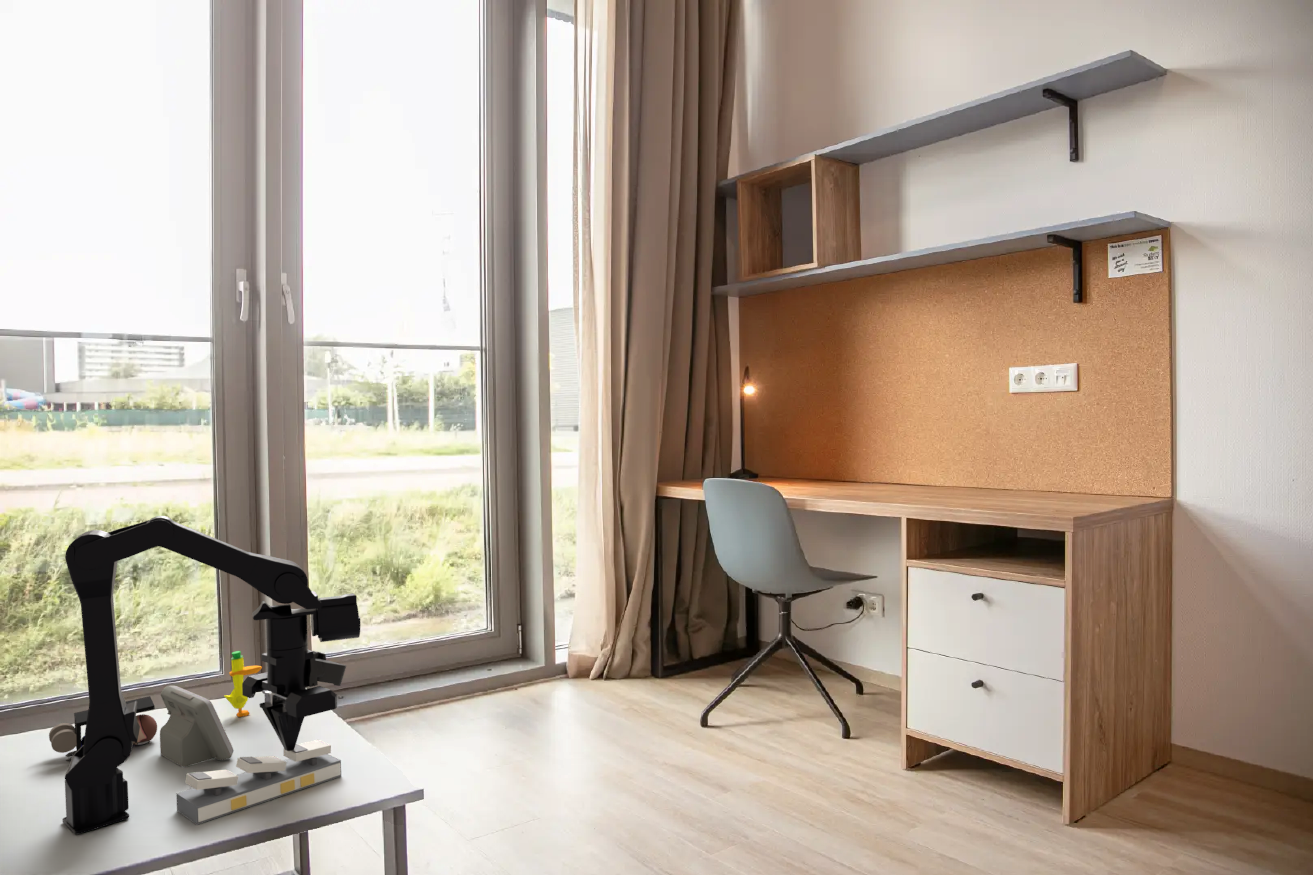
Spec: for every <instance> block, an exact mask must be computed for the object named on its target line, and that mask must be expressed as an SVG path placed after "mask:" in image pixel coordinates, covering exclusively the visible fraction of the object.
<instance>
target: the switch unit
mask: <svg viewBox="0 0 1313 875" xmlns="http://www.w3.org/2000/svg"><path fill="white" fill-rule="evenodd" d="M282 760H283V761H285V762H287V763H286V768H285V771H274V772H258V773H247V772H245V771H243V772H241V773H238V774H236V775H237V776H238V781H237V785H233V786H225V787H217V788H209V789H200V790H196V789H194V788H193V787H191V788H189V789H185V790H183V791H182V790H181V791H178V792H176V794H175V795H176V796H175V797H176V812H178V813H179V814H181V815H182V816H184V817H185V818H187V819H188V820H190V822H192V823H194V824H195V825H200V824H203V823H206V822H209V821H212V820H215V819H218V818H222V817H224V816H227V815H230V814H233V813H236V812H239V811H242V810H246V809H248V808H252V807H254V806H257V805H260V804H263V803H266V802H269V801H272V800H274V799H277V798H280V797H283V796H284V797H285V796H287V795H290V794H293V793H296V792H298V791H299V792H300V791H301V790H305V789H308V788H312V787H314V786H317V785H319V784H320V785H321V784H323V783H325V782H329V781H331V780H334V779H335V780H336V779H338V778H340V777H342V760H341V759H339V758H338V757H335V756H332V755H330V753H329V754H325V755H321V756H317V757H314V758H310V759H306V760H302V761H298V762H295V761H293V760H291V759H289V758H286V759H282Z"/></svg>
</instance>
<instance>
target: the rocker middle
mask: <svg viewBox="0 0 1313 875" xmlns="http://www.w3.org/2000/svg"><path fill="white" fill-rule="evenodd" d="M283 760H284V759H281V758H279V757H277V756H273V755H271V756H270V755H269V756H240V757H237V759H236V765H235V767H236V768H238V769H240V770H242V771H243V772H247V773H258V772H274V771H285V768H286V763H287V762H285V761H283Z"/></svg>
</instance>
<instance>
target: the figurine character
mask: <svg viewBox="0 0 1313 875" xmlns="http://www.w3.org/2000/svg"><path fill="white" fill-rule="evenodd" d="M135 701H137V710H136V719H137V722H138V724H139V726H140V730H139V735H138V740H137V742H133V745H136V746H141V745H146V744H147V743H149V742H150V741H152V740H153V739H154V737H155V736H156V734H157V731H158V724H157V721H156V720H155V718H154V717H152V716H151V715H149V714H144V712H147V711H152V710H155V708H156V707H155V704H154V702H153V699H152V698H151V696H150V695H149V696H144V697H141V698H140V697H139V698H135V699H130V700H127V701H126V700H125V702H126V704H129V703H132V702H135ZM138 713H142V714H138ZM137 714H138V715H137ZM73 715H74V725H73V724H71V723H68V722H61V723H57V724H56V725H54V726H53V727H52V728H51V729H50V730H49V732H48V739H49V742H50V744H51V748H52V750H53V751H54V752H56V753H60V754H61V753H62V754H64V753H66V754H65V755H64V756H65V757H69V758H68V759H66V760H65V761H66V762H71V759H72V756H73V755H74V754H75V753H76V752H77V751H78V750H79V749H80V748H81V747H82V746H83V745H84V737H85V735H83V737H82V727H83V726H86V722H87V716H88V709H85V710H82V711H78V712H74V713H73ZM74 749H76V750H74Z"/></svg>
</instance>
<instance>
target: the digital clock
mask: <svg viewBox="0 0 1313 875" xmlns="http://www.w3.org/2000/svg"><path fill="white" fill-rule="evenodd" d="M160 696H161V700H162V702H163V704H164V706H165V708H166V710H167V715H169V718H168V720H167V721H166V723H165V724H164V725H162V726H161V727H160V730H159V745H160V746H159V748H160V755H161V756H162V757H163V758H166V759H167V760H170V761H171V762H173V763H175V764H177V765H178V766H180V767H182V768H186V767H190V766H192V765H197V764H199V763H203V762H207V761H210V760H214V759H216V760H218V761H228V760H230V759H231V758H232V756H233V754H234V751H235V750H234V747H233V745H232V743H231V741H230V739H229V736H228V735H227V733H226V730H225V727H224V726H223V724H222V721H221V719H220V717H219V715H218V712H217V710H216V709H215V707H214V705H213V703H212V701H211V700H210V699H208V698H206V697H204V696H201V695H199V694H198V693H197V694H196V693H194V692H192V691H189V690H187V689H185V688H182V687H180V686H177V685H166V686H165V687H163V689H162V690H161V693H160Z"/></svg>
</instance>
